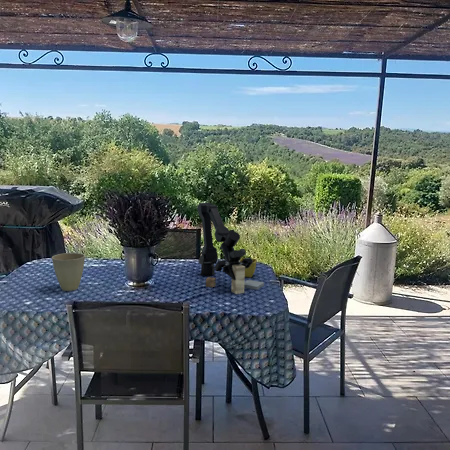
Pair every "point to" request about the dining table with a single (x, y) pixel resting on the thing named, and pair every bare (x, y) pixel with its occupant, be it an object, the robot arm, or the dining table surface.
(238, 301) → the dining table surface
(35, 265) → the dining table surface
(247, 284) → the slate plinth
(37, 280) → the dining table surface
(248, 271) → the flower pot
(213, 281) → the walnut cube
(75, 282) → the plant pot
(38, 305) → the dining table surface
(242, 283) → the beech pillar
